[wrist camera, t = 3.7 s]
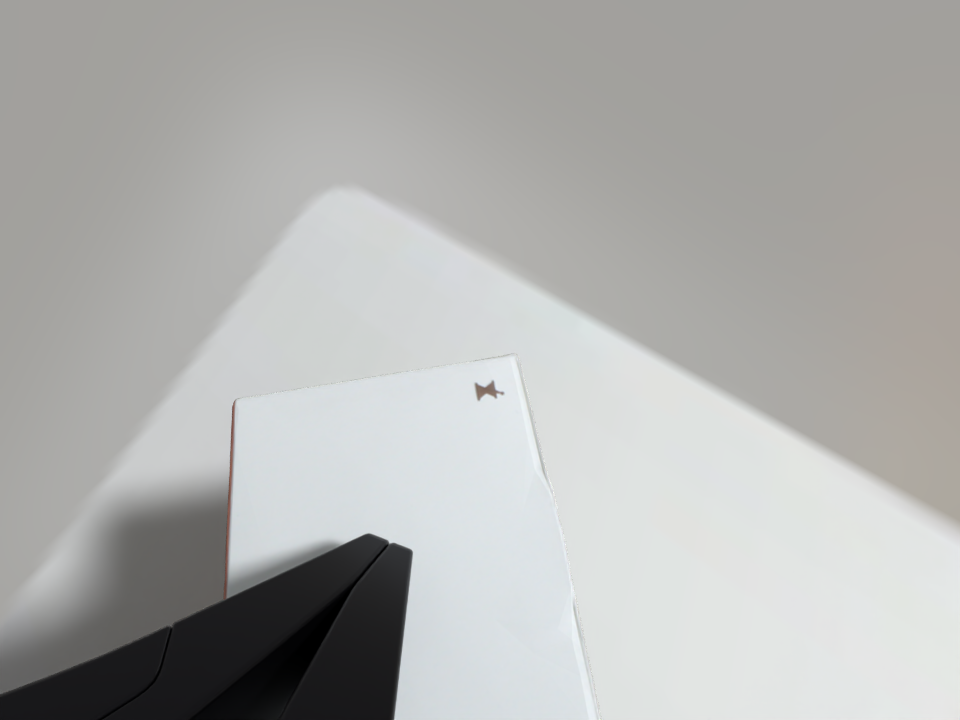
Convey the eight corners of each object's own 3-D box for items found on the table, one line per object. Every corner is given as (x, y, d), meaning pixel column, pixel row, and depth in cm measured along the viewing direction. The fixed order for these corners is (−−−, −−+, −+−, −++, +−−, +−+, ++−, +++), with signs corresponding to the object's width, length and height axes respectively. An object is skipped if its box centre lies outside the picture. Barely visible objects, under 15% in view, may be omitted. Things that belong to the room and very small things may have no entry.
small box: (361, 512, 23) (226, 389, 11) (507, 487, 23) (524, 342, 12) (375, 739, 19) (197, 908, 7) (548, 705, 19) (634, 815, 8)
